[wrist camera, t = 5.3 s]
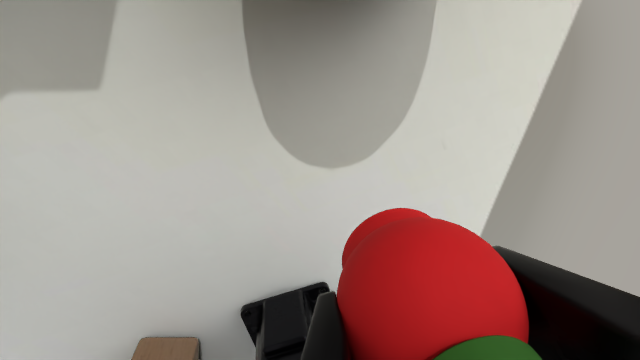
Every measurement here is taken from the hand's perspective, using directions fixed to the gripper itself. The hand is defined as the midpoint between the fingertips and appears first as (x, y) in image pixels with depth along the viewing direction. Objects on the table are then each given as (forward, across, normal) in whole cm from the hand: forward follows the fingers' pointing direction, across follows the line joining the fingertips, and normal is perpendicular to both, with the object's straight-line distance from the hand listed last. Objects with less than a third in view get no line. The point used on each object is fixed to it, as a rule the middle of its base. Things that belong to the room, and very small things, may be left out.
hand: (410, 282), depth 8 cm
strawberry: (+1, 0, 0) cm, 1 cm away
